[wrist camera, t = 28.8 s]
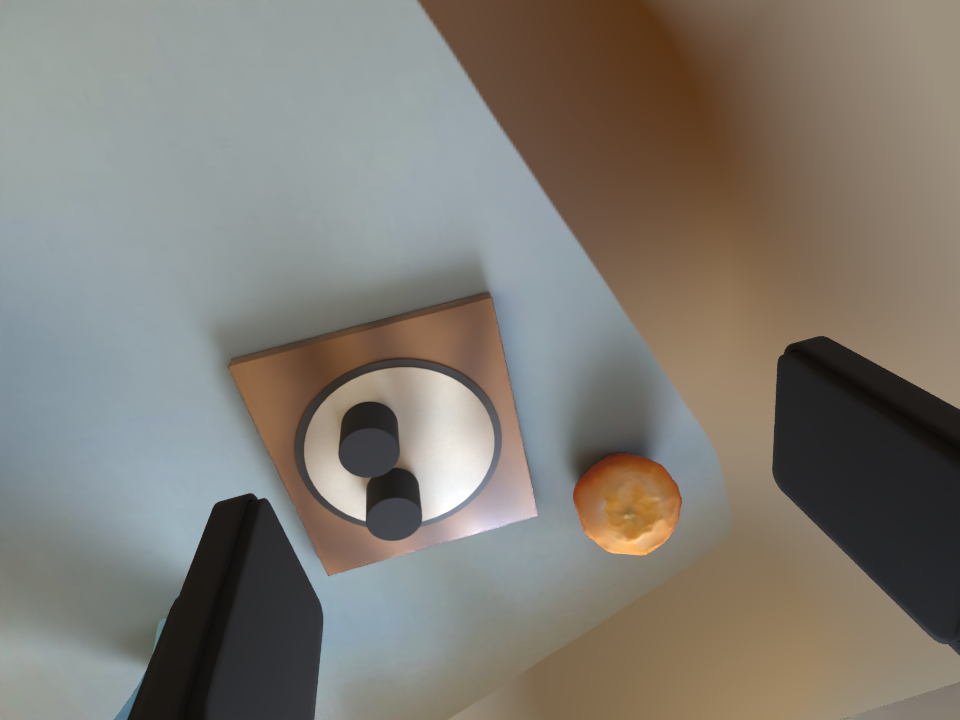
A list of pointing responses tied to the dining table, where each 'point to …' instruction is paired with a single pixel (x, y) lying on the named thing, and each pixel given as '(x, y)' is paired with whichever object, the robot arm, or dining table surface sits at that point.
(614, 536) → the fruit
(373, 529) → the dot
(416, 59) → the dining table surface
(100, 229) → the dining table surface
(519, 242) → the dining table surface
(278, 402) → the board
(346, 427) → the dot
